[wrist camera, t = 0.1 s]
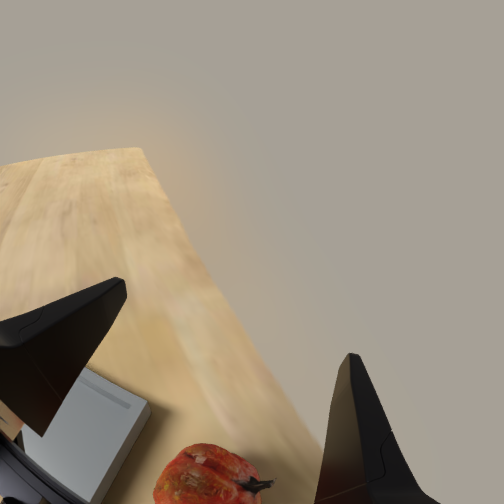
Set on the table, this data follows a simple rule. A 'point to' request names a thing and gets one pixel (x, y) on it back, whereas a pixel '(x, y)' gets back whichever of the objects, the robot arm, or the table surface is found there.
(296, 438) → the table surface
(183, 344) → the table surface
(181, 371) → the table surface
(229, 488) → the pomegranate
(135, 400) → the tray
